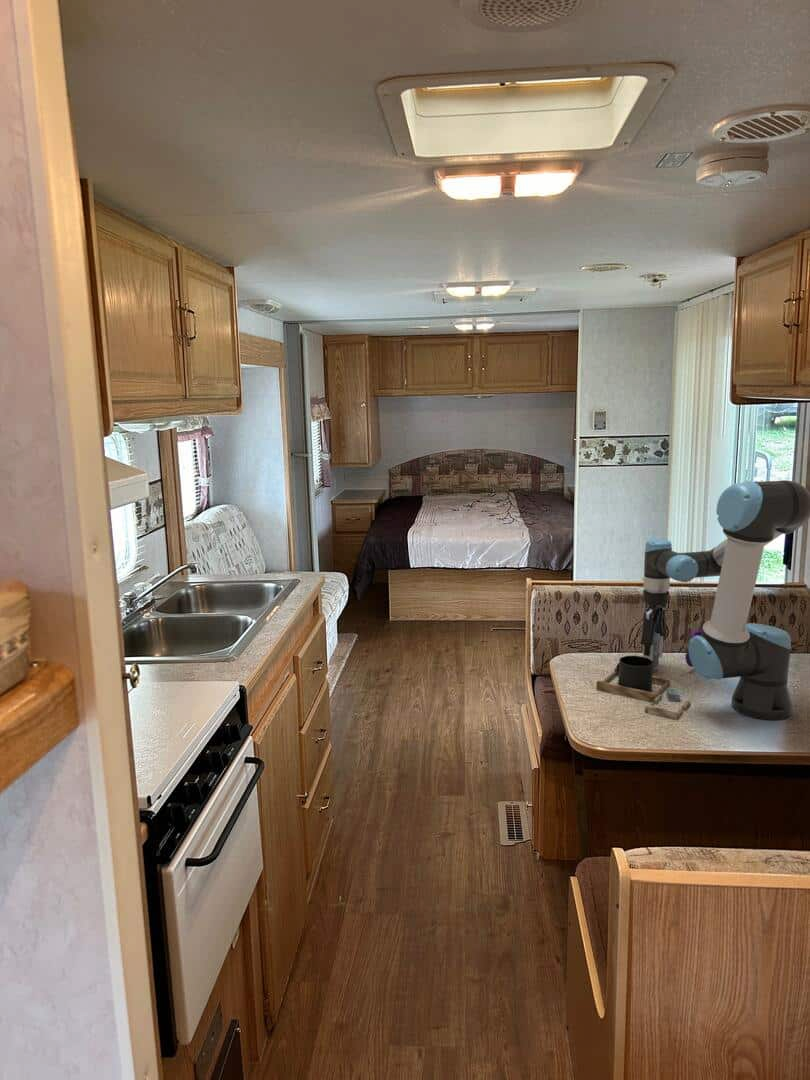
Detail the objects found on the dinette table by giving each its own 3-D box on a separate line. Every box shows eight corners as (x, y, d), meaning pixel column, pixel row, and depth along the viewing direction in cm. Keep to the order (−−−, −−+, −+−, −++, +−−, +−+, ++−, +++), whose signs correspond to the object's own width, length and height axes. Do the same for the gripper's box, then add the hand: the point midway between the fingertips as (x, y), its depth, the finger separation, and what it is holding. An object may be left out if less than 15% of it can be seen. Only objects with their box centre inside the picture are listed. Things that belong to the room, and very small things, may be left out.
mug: (627, 679, 233) (628, 650, 232) (658, 692, 223) (660, 662, 222) (604, 685, 229) (605, 656, 227) (635, 699, 219) (637, 669, 217)
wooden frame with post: (680, 674, 236) (682, 637, 234) (652, 702, 216) (655, 661, 214) (627, 664, 246) (629, 628, 244) (596, 689, 226) (597, 650, 223)
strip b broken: (694, 699, 218) (695, 692, 218) (677, 719, 205) (677, 712, 204) (664, 692, 223) (664, 686, 223) (644, 712, 210) (645, 705, 209)
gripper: (655, 581, 246) (651, 648, 250) (631, 596, 229) (628, 668, 233) (679, 584, 242) (675, 652, 246) (656, 599, 224) (653, 673, 229)
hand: (652, 660), depth 239 cm, fingers open, 9 cm apart
